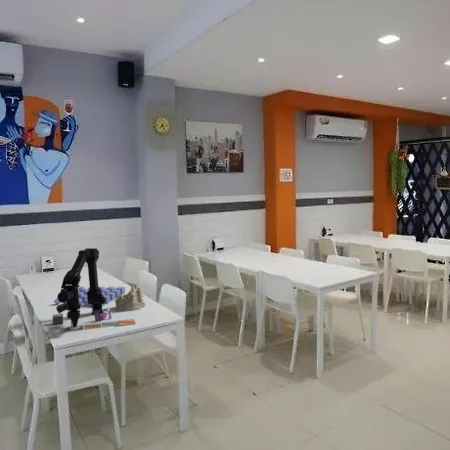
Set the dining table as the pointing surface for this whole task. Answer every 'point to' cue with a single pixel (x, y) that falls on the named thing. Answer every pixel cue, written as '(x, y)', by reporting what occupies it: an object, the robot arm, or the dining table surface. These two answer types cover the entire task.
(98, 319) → the game card
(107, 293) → the blocks
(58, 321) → the die
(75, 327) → the pawn
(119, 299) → the sand castle
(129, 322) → the game board
